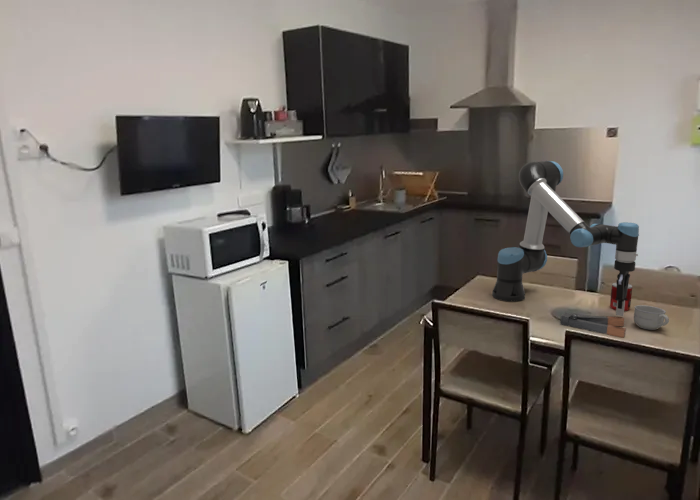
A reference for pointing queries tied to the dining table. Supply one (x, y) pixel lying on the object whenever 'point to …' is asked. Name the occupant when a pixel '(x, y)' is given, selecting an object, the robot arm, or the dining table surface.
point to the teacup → (650, 317)
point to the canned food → (614, 302)
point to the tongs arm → (601, 319)
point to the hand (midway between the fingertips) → (619, 315)
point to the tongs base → (592, 326)
